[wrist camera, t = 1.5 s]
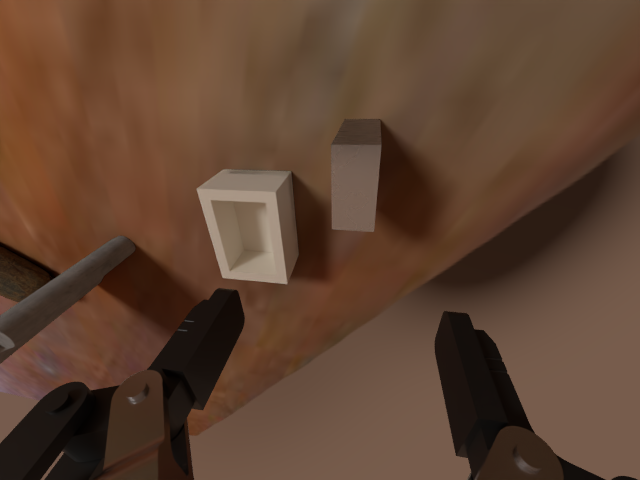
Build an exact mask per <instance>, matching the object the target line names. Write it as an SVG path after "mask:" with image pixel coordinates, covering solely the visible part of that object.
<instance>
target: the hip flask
mask: <svg viewBox="0 0 640 480" xmlns="http://www.w3.org/2000/svg"><path fill="white" fill-rule="evenodd" d="M134 251H135V245H134V244H133V242H132V241H131V240H129V239H128V238H126V237H124V236H118V237H116V238H114V239H112V240H110V241H109V242H107V243H106V244H104V245H103V246H101V247H100V248H98V249H97V250H96V251H94V252H93V253H91V254H90V255H88V256H87V257H85V258H84V259H82V260H81V261H79V262H78V263H76V264H75V265H73V266H72V267H71V268H69V269H68V270H66V271H65V272H63V273H62V274H60V275H59V276H57V277H56V278H54V279H53V280H51V281H50V282H49V283H47V284H46V285H44V286H43V287H41V288H40V289H38V290H37V291H35V292H34V293H32V294H31V295H29V296H28V297H27V298H25V299H24V300H22V301H21V302H19V303H18V304H16V305H15V306H13V307H12V308H10V309H9V310H7V311H6V312H5V313H3V314H2V315H0V363H2V362H3V361H4V360H5V359H7V358H8V357H9V356H10V355H12V354H13V353H14V352H15V351H16V350H18V349H19V348H20V347H21V346H23V345H24V344H25V343H26V342H28V341H29V340H30V339H31V338H33V337H34V336H35V335H36V334H37V333H39V332H40V331H41V330H42V329H44V328H45V327H46V326H47V325H49V324H50V323H51V322H52V321H54V320H55V319H56V318H57V317H58V316H60V315H61V314H62V313H63V312H65V311H66V310H67V309H68V308H70V307H71V306H72V305H73V304H75V303H76V302H77V301H78V300H79V299H81V298H82V297H83V296H84V295H86V294H87V293H88V292H89V291H91V290H92V289H93V288H94V287H96V286H97V285H98V284H99V283H100V282H101V281H102V279H103V277H104V275H106V274H107V273H108V272H109V271H111V270H112V269H113V268H114V267H116V266H117V265H118V264H119V263H121V262H122V261H123V260H124V259H126V258H127V257H128V256H130V255H131V254H132V253H133V252H134Z"/></svg>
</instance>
